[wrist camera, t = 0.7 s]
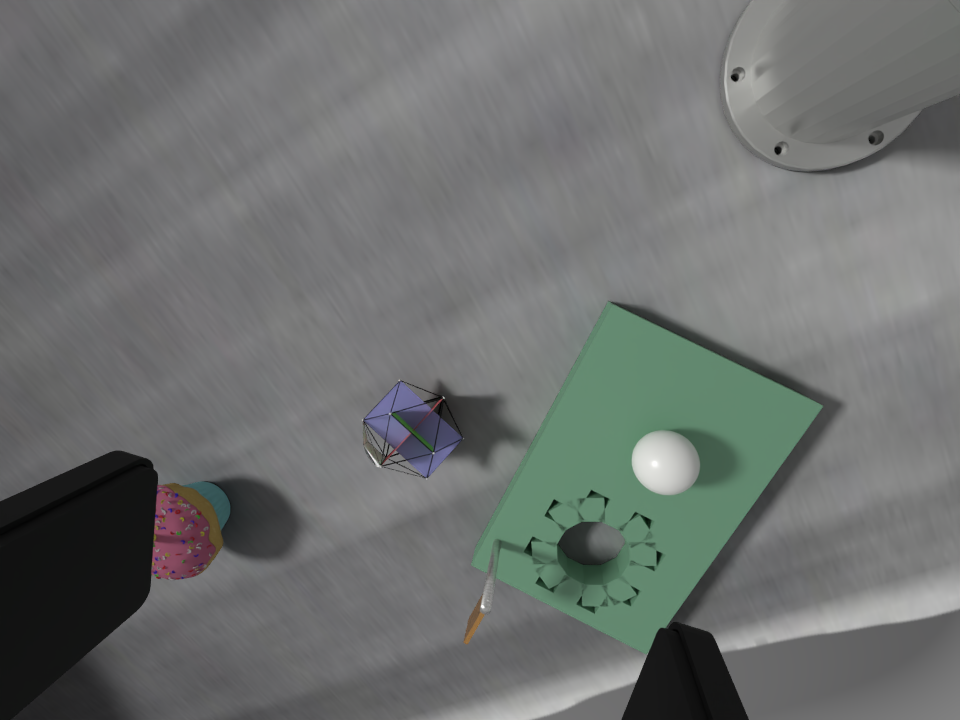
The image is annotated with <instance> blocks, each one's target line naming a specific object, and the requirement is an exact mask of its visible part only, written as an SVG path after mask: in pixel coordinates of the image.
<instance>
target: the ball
mask: <svg viewBox="0 0 960 720" xmlns="http://www.w3.org/2000/svg"><path fill="white" fill-rule="evenodd" d="M632 467H633V471H634V473H635V475H636V477H637V479H638V480H639V481H640V483H641V484H642V485H643V486H644V487H646V488H647V489H649V490H650V491H652V492H655V493H657V494H661V495H676V494H680V493H682V492H684V491H686V490H687V489H689V488H690V487H691V486H692V485H693V484H694V483H695V481H696V479H697V477H698V475H699V471H700V460H699V456H698V453H697V451H696V449H695V447H694V446H693V444H692V443H691V442H690V441H689V440H688V439H687V438H685V437H684V436H682V435H680V434H678V433H676V432H673V431H667V430H658V431H654V432H651V433H649V434H647V435H645V436H644V437H642V438H641V439H640V440H639V441H638V443H637V444H636V446H635V448H634V450H633V453H632Z"/></svg>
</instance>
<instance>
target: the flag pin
mask: <svg viewBox="0 0 960 720" xmlns="http://www.w3.org/2000/svg"><path fill="white" fill-rule="evenodd" d="M501 544H502V542H501V540H499V539H495V540H494V541H493V545H492V550H491V555H490V560H489V565H488V570H487V575H486V580H485V585H484V591H483V594H482V596H481V598H480V599H479V601H478V603H477V605H476V607H475V608H474V610H473V612H472V614H471V615H470V617H469V620H468V625H467V629H466V633H465V638H464V643H465V644H468V643H469V641H470V639H471V637H472V636H473V634H474V632H475V630H476V629H477V627H478V625H479V624H480V622H481V620H482V618H483V617H484V615H485V614H489V613H490V610H491V604H492V598H493V592H494V586H495V580H496V574H497V568H498V562H499V556H500V550H501Z"/></svg>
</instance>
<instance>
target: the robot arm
mask: <svg viewBox="0 0 960 720" xmlns="http://www.w3.org/2000/svg"><path fill="white" fill-rule="evenodd" d="M731 76H735V77H736V79H737V80H736V82H734V81H733V80H731ZM959 94H960V0H752V1H751V2H750V4H749V5H748V6H747V8H746V9H745V10H744V12H743V13H742V14H741V16H740V18H739V19H738V21H737V23H736V25H735V27H734V29H733V31H732V33H731V35H730V37H729V40H728V43H727V46H726V49H725V52H724V55H723V60H722V66H721V73H720V95H721V100H722V105H723V109H724V114H725V116H726V118H727V121H728V123H729V125H730V127H731V129H732V131H733V133H734V134H735V135H736V137H737V138H738V139H739V141H740V142H741V143H742V145H743V146H744V147H746V148H747V149H748V150H749V151H750V152H752V153H753V154H754V155H755V156H756V157H758V158H760V159H762V160H764V161H765V162H767V163H769V164H771V165H773V166H777V167H780V168H784V169H787V170H793V171H806V172H812V171H821V170H829V169H833V168H837V167H840V166H844V165H847V164H850V163H853V162H855V161H858V160H861V159H863V158H866V157H868V156H870V155H871V154H873V153H875V152H877V151H879V150H881V149H882V148H884V147H885V146H887V145H888V144H889V143H890V142H891V141H893V140H894V139H895V138H896V137H898V136H899V135H900V134H901V133H903V132H904V131H905V130H906V129H907V127H908V126H909V125H910V124H911V123H912V122H913V121H914V120H915V119H916V117H917V116H918V115H919V114H920V113H921V111H922V110H923V109H924V108H926V107H929V106H931V105H934V104H937V103H939V102H942V101H944V100H947V99H949V98H952V97H954V96H957V95H959ZM868 138H870V140H871V141H870V143H869V140H868ZM774 148H777V149H778V150H779V153H778V155H776V154H775V152H774ZM157 486H158V474H157V472H156V471H155V470H154V469H153V464H152V462H151V461H150V460H148V459H146V458H143V457H140V456H137V455H133V454H130V453H127V452H124V451H113V452H109V453H107V454H105V455H103V456H101V457H98V458H96V459H94V460H92V461H89V462H87V463H85V464H83V465H81V466H78V467H76V468H74V469H72V470H69V471H67V472H65V473H63V474H60V475H58V476H56V477H54V478H52V479H49V480H47V481H45V482H43V483H40V484H38V485H36V486H34V487H32V488H29V489H27V490H25V491H23V492H20V493H18V494H16V495H14V496H11V497H9V498H7V499H5V500H3V501H0V720H11V719H12V718H13V717H14V716H15V715H16V714H18V713H19V712H20V711H21V710H22V709H23V708H25V707H26V706H27V705H28V704H29V703H30V702H32V701H33V700H34V699H35V698H36V697H37V696H38V695H40V694H41V693H42V692H43V691H44V690H45V689H47V688H48V687H49V686H50V685H51V684H52V683H54V682H55V681H56V680H57V679H58V678H59V677H61V676H62V675H63V674H64V673H65V672H66V671H68V670H69V669H70V668H71V667H72V666H73V665H75V664H76V663H77V662H78V661H79V660H80V659H82V658H83V657H84V656H85V655H86V654H87V653H88V652H90V651H91V650H92V649H93V648H94V647H95V646H97V645H98V644H99V643H100V642H101V641H102V640H104V639H105V638H106V637H107V636H108V635H109V634H111V633H112V632H113V631H114V630H115V629H116V628H118V627H119V626H120V625H121V624H122V623H123V622H125V621H126V620H127V619H128V618H129V617H130V616H131V615H133V614H134V613H135V612H136V611H137V610H138V609H139V608H140V607H141V606H142V605H143V603H144V602H145V600H146V598H147V597H148V594H149V592H150V586H151V572H152V557H153V543H154V529H155V514H156V500H157ZM622 720H749V719H748V716H747V714H746V712H745V709H744V707H743V705H742V702H741V700H740V698H739V695H738V693H737V691H736V688H735V686H734V683H733V681H732V679H731V676H730V674H729V672H728V669H727V667H726V665H725V662H724V660H723V657H722V655H721V653H720V650H719V648H718V645H717V643H716V641H715V639H714V637H713V635H712V634H711V633H709V632H707V631H704V630H701V629H698V628H694V627H691V626H688V625H685V624H681V623H678V622H673V623H672V624H671V625H670V626H669V628H668V629H666V628H660V629H659V630H658V631H657V633H656V636H655V638H654V641H653V643H652V646H651V648H650V650H649V653H648V655H647V658H646V660H645V663H644V665H643V668H642V670H641V673H640V675H639V678H638V680H637V683H636V685H635V688H634V690H633V692H632V695H631V698H630V700H629V702H628V705H627V707H626V710H625V712H624V715H623V717H622Z"/></svg>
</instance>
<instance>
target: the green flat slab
mask: <svg viewBox="0 0 960 720" xmlns="http://www.w3.org/2000/svg"><path fill="white" fill-rule="evenodd" d="M822 407H823V405H821V404H819V403H817V402H815V401H814V400H812V399H810V398H808V397H806V396H805V395H802V394H800V393H798V392H796V391H794V390H792V389H790V388H788V387H786V386H784V385H782V384H780V383H778V382H775V381H773V380H771V379H769V378H767V377H765V376H763V375H761V374H759V373H757V372H755V371H753V370H750V369H748V368H746V367H744V366H742V365H740V364H738V363H736V362H734V361H732V360H730V359H728V358H726V357H723V356H721V355H719V354H717V353H715V352H713V351H711V350H709V349H707V348H705V347H703V346H701V345H698V344H696V343H694V342H692V341H690V340H688V339H686V338H684V337H682V336H680V335H678V334H676V333H674V332H671V331H669V330H667V329H665V328H663V327H661V326H659V325H657V324H655V323H653V322H651V321H649V320H646V319H644V318H642V317H640V316H638V315H636V314H634V313H632V312H630V311H628V310H626V309H624V308H622V307H619V306H617V305H615V304H613V303H611V302H609V301H608V303H607V305H606V307H605V308H604V310H603V312H602V314H601V316H600V318H599V319H598V321H597V323H596V325H595V327H594V329H593V331H592V332H591V334H590V336H589V338H588V340H587V342H586V344H585V345H584V347H583V349H582V351H581V353H580V355H579V357H578V358H577V360H576V362H575V364H574V366H573V368H572V370H571V371H570V373H569V375H568V377H567V379H566V381H565V383H564V384H563V386H562V388H561V390H560V392H559V394H558V396H557V397H556V399H555V401H554V403H553V405H552V407H551V408H550V410H549V412H548V414H547V416H546V418H545V420H544V421H543V423H542V425H541V427H540V429H539V431H538V433H537V434H536V436H535V438H534V440H533V442H532V444H531V446H530V447H529V449H528V451H527V453H526V455H525V457H524V459H523V460H522V462H521V464H520V466H519V468H518V470H517V472H516V473H515V475H514V477H513V479H512V481H511V483H510V485H509V486H508V488H507V490H506V492H505V494H504V496H503V497H502V499H501V501H500V503H499V505H498V507H497V509H496V510H495V512H494V514H493V516H492V518H491V520H490V522H489V523H488V525H487V527H486V529H485V531H484V533H483V535H482V536H481V538H480V540H479V542H478V544H477V546H476V548H475V552H474V556H473V560H472V564H471V566H473V567H475V568H477V569H479V570H481V571H483V572H485V573H487V570H488V565H489V560H490V555H491V550H492V545H493V541H494V540H495V539H499V540H501V542H502V544H501V550H500V556H499V562H498V568H497V574H496V578H497V579H499V580H501V581H503V582H505V583H507V584H509V585H511V586H513V587H515V588H517V589H519V590H521V591H523V592H525V593H527V594H528V595H530V596H532V597H534V598H536V599H538V600H540V601H542V602H544V603H546V604H548V605H550V606H552V607H554V608H556V609H558V610H560V611H562V612H564V613H566V614H568V615H570V616H572V617H574V618H576V619H578V620H580V621H582V622H584V623H586V624H587V625H589V626H591V627H593V628H595V629H597V630H599V631H601V632H603V633H605V634H607V635H609V636H611V637H613V638H615V639H617V640H619V641H621V642H623V643H625V644H627V645H629V646H631V647H633V648H635V649H637V650H639V651H641V652H643V653H645V654H647V653H648V651H649V650H650V648H651V646H652V643H653V641H654V638H655V636H656V633H657V631H658V630H659V629H660V628H666V626H667V625H668V623H669V622H670V621H671V619H672V618H673V616H674V615H675V614H676V612H677V611H678V609H679V608H680V607H681V605H682V604H683V602H684V601H685V600H686V598H687V597H688V595H689V594H690V593H691V591H692V590H693V588H694V587H695V586H696V584H697V583H698V581H699V580H700V579H701V577H702V576H703V574H704V573H705V572H706V570H707V569H708V567H709V566H710V564H711V563H712V562H713V560H714V559H715V557H716V556H717V555H718V553H719V552H720V550H721V549H722V548H723V546H724V545H725V543H726V542H727V541H728V539H729V538H730V536H731V535H732V534H733V532H734V531H735V529H736V528H737V527H738V525H739V524H740V522H741V521H742V520H743V518H744V517H745V515H746V514H747V513H748V511H749V510H750V508H751V507H752V506H753V504H754V503H755V501H756V500H757V499H758V497H759V496H760V494H761V493H762V492H763V490H764V489H765V487H766V486H767V485H768V483H769V482H770V480H771V479H772V478H773V476H774V475H775V473H776V472H777V470H778V469H779V468H780V466H781V465H782V463H783V462H784V461H785V459H786V458H787V456H788V455H789V454H790V452H791V451H792V449H793V448H794V447H795V445H796V444H797V442H798V441H799V440H800V438H801V437H802V435H803V434H804V433H805V431H806V430H807V428H808V427H809V426H810V424H811V423H812V421H813V420H814V419H815V417H816V416H817V414H818V413H819V412H820V410H821V409H822ZM658 430H667V431H673V432H676V433H678V434H680V435H682V436H684V437H685V438H687V439H688V440H689V441H690V442H691V443H692V444H693V446H694V447H695V449H696V451H697V453H698V456H699V460H700V471H699V475H698V477H697V479H696V481H695V483H694V484H693V485H692V486H691V487H690V488H689V489H687V490H686V491H684V492H682V493H680V494H676V495H661V494H657V493H655V492H652V491H650V490H649V489H647V488H646V487H644V486H643V485H642V484H641V483H640V481H639V480H638V479H637V477H636V475H635V473H634V471H633V467H632V453H633V450H634V448H635V446H636V444H637V443H638V441H639V440H640V439H641V438H642V437H644V436H645V435H647V434H649V433H651V432H654V431H658ZM580 522H603V523H605V524H607V525H609V526H611V527H613V528H615V529H617V530H619V531H620V533H621V534H622V535H623V537H624V538H625V544H624V546H623V548H622V549H621V551H620V552H619V554H618V555H617V557H616V558H614V559H612V560H610V561H608V562H606V563H604V564H602V565H582V564H580V563H578V562H576V561H574V560H572V559H570V558H568V557H567V556H566V555H565V554H564V552H563V551H562V549H561V548H560V547H559V545H558V542H559V540H560V539H561V537H562V535H563V533H564V532H565V530H567V529H569V528H571V527H573V526H574V525H576V524H578V523H580Z"/></svg>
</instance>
